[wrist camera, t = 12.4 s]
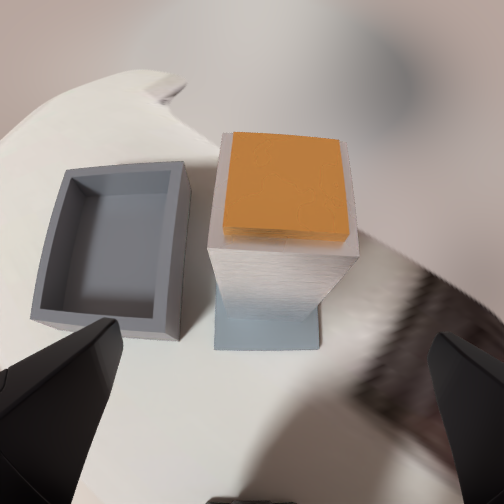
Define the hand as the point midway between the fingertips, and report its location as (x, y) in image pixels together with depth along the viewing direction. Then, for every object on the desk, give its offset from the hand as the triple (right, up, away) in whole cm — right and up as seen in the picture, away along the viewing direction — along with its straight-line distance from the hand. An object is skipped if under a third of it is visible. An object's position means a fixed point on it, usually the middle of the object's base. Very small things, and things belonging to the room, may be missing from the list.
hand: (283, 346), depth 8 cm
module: (0, 0, +14) cm, 14 cm away
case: (-11, +2, +15) cm, 19 cm away
